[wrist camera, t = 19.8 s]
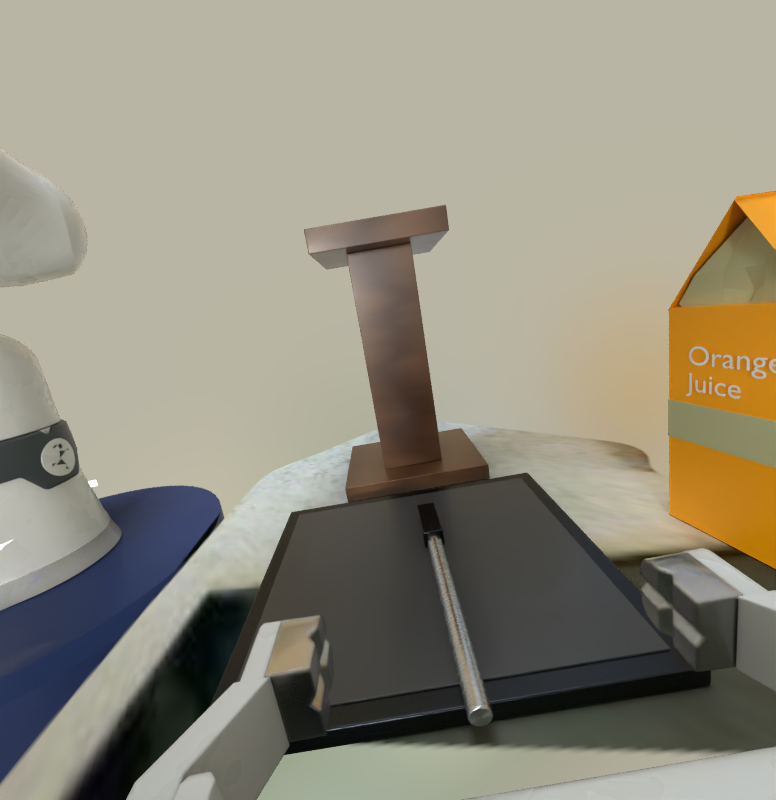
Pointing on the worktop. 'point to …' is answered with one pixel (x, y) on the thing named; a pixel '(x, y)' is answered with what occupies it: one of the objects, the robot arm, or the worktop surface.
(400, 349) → the brown wooden pedestal
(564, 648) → the tablet
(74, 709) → the worktop surface
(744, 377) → the orange juice
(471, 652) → the stylus
